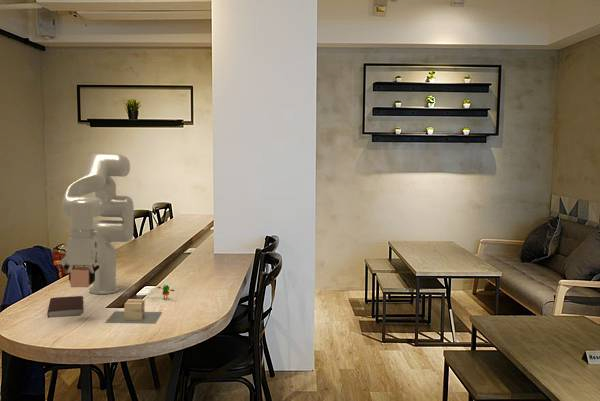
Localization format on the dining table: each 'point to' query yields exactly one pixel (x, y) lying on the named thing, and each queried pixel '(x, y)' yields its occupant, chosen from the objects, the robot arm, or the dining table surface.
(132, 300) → the maple block
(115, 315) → the plate
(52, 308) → the book
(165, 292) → the toy character
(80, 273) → the terracotta block
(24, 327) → the dining table surface
